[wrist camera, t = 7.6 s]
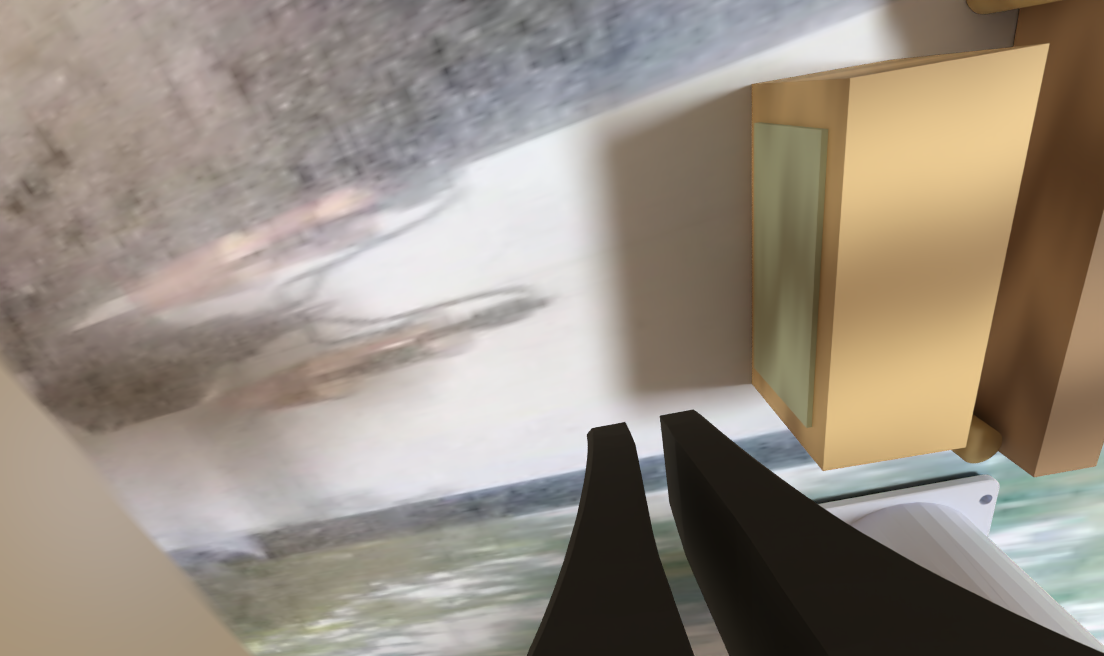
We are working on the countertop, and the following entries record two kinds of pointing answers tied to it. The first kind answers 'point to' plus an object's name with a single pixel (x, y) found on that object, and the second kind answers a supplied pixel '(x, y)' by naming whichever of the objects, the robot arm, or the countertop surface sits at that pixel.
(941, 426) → the tan wooden block
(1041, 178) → the wall ledge
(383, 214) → the countertop surface
